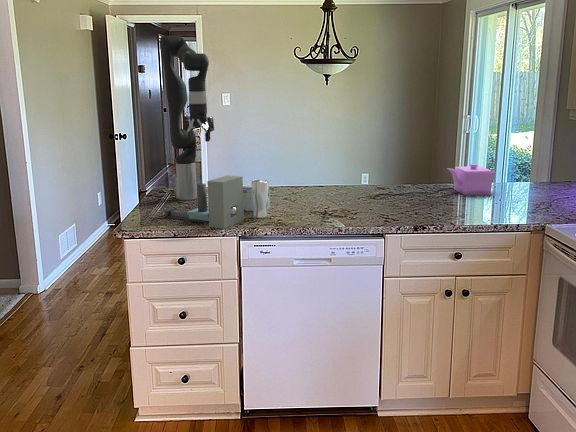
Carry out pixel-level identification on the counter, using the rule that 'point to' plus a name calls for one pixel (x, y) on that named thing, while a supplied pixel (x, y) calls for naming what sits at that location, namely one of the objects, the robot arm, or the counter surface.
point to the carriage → (200, 205)
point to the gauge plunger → (233, 210)
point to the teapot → (472, 180)
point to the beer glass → (259, 198)
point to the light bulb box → (248, 198)
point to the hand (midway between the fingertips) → (199, 141)
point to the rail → (180, 215)
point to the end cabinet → (225, 201)
